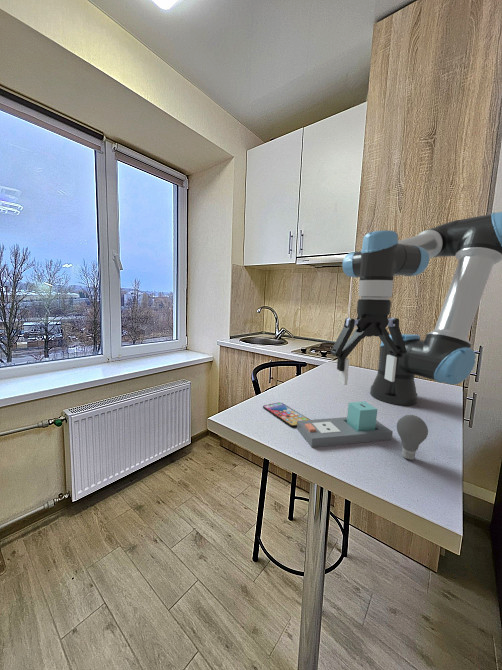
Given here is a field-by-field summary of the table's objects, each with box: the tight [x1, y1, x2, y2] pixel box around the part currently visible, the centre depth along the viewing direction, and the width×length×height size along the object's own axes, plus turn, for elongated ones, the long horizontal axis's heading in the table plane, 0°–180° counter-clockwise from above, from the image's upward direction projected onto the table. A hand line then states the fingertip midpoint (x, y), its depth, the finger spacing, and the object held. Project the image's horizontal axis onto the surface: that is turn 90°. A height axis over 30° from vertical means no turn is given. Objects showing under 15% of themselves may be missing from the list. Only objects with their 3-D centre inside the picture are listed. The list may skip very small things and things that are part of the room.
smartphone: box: [262, 402, 311, 429], centre depth 81 cm, size 7×1×15 cm
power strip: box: [296, 416, 393, 448], centre depth 70 cm, size 22×9×3 cm, turn 103°
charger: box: [346, 401, 378, 432], centre depth 71 cm, size 5×5×7 cm
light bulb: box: [396, 414, 429, 460], centre depth 60 cm, size 6×6×10 cm
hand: (366, 381), depth 70 cm, fingers open, 13 cm apart
